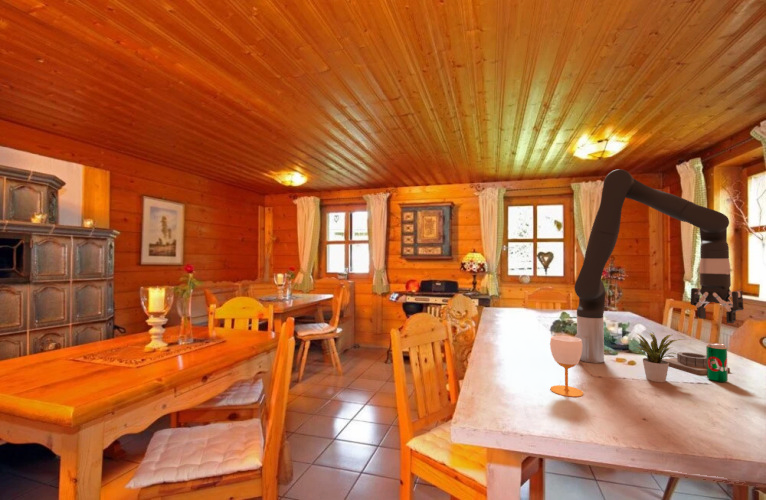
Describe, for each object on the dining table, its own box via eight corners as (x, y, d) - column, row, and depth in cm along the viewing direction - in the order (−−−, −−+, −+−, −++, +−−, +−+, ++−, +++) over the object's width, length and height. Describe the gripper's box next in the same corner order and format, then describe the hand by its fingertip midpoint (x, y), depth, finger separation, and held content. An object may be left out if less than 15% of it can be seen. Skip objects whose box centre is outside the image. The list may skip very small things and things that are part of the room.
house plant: (690, 379, 119) (689, 330, 120) (687, 391, 109) (686, 337, 110) (637, 370, 129) (637, 325, 129) (631, 380, 119) (630, 330, 119)
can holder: (698, 374, 125) (697, 361, 125) (659, 363, 138) (659, 351, 138) (729, 372, 127) (729, 359, 127) (689, 361, 141) (689, 349, 141)
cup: (580, 388, 112) (579, 336, 112) (586, 398, 103) (585, 342, 103) (548, 384, 115) (548, 334, 115) (552, 394, 106) (551, 340, 106)
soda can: (719, 378, 121) (718, 342, 121) (732, 383, 116) (731, 346, 116) (702, 377, 121) (702, 342, 122) (715, 382, 116) (714, 345, 117)
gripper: (683, 271, 126) (684, 317, 125) (730, 273, 112) (731, 325, 111) (701, 271, 127) (702, 317, 127) (749, 273, 113) (750, 324, 113)
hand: (715, 320), depth 119 cm, fingers open, 8 cm apart
